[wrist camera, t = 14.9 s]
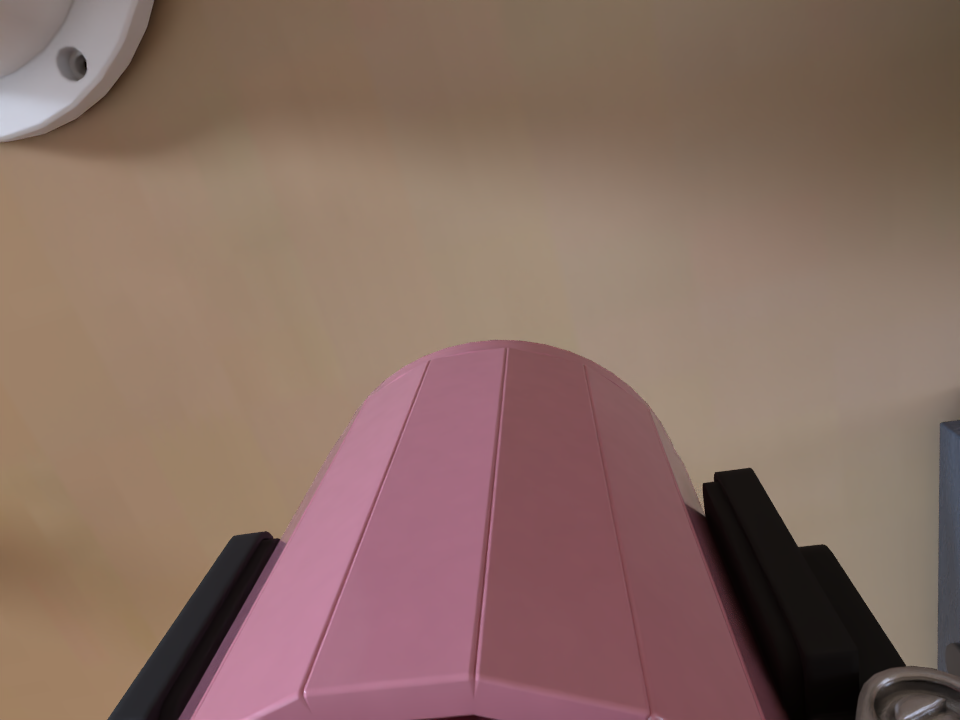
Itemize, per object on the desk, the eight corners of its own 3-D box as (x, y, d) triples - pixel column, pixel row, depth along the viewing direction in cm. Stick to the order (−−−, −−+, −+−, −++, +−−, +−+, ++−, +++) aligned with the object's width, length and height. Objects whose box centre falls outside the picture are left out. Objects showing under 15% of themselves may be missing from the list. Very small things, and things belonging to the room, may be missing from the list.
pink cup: (377, 660, 16) (234, 1185, 8) (291, 370, 13) (-21, 725, 6) (698, 625, 15) (872, 1181, 7) (663, 310, 12) (863, 636, 5)
